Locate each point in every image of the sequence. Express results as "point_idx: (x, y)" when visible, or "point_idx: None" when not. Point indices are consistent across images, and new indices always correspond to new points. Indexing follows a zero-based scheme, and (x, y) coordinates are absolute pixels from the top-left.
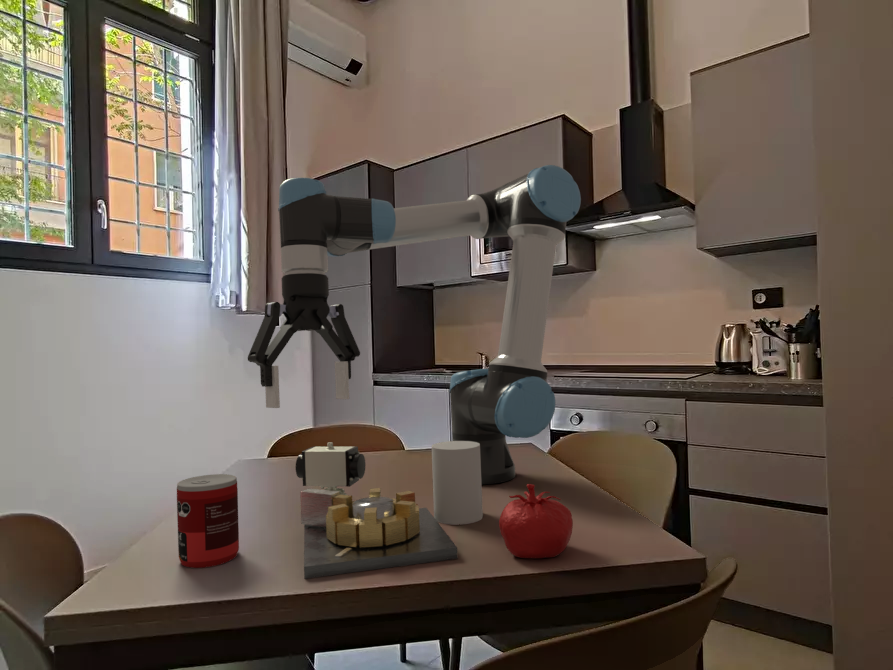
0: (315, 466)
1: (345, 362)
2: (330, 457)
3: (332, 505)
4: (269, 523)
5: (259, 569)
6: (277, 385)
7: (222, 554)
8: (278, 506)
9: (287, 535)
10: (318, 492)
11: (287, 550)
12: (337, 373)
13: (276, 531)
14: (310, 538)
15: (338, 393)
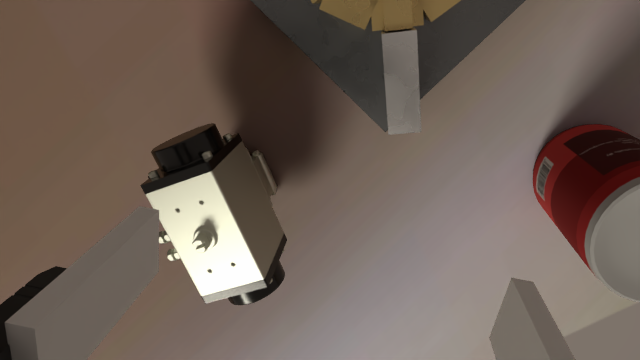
0: (262, 232)
1: (31, 321)
2: (237, 205)
3: (412, 28)
4: (381, 223)
5: (602, 36)
6: (553, 349)
7: (611, 127)
8: (291, 285)
9: (423, 136)
10: (410, 80)
11: (495, 67)
12: (90, 336)
13: (413, 174)
14: (476, 28)
15: (146, 269)
